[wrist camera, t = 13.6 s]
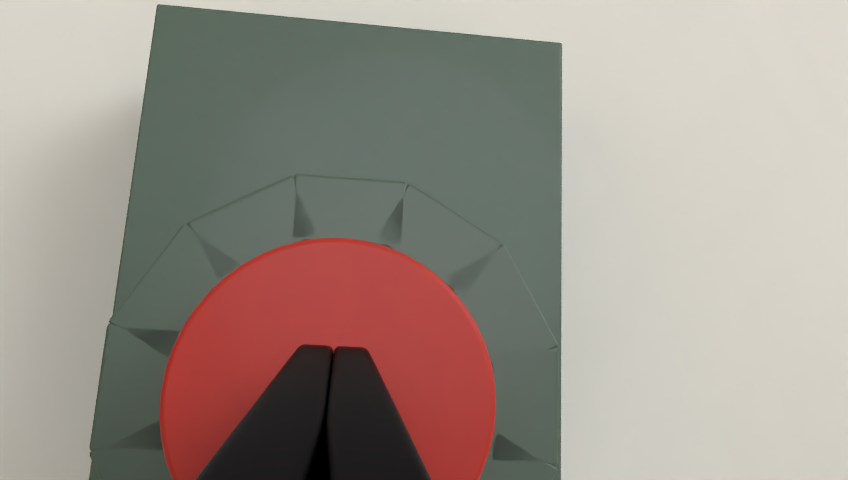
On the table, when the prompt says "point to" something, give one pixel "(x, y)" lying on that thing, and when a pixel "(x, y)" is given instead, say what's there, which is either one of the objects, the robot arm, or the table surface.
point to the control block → (342, 198)
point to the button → (334, 326)
